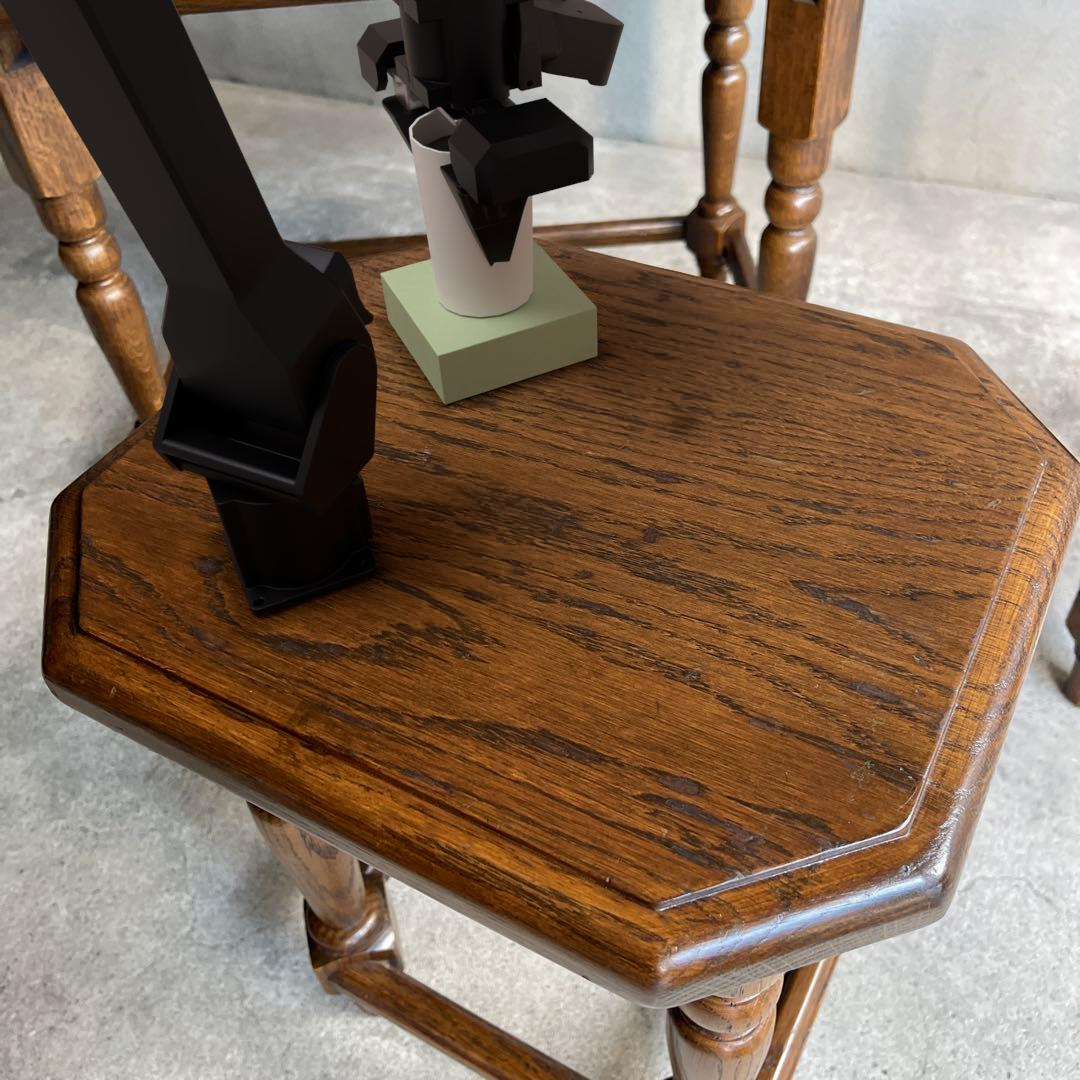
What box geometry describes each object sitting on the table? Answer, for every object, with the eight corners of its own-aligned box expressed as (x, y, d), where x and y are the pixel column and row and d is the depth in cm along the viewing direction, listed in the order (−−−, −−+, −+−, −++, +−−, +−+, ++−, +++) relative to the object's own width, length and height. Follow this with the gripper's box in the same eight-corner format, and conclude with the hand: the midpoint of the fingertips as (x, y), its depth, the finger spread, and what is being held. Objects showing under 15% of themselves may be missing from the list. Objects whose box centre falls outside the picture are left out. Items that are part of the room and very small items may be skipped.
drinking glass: (535, 321, 63) (526, 153, 56) (421, 321, 64) (398, 154, 57) (544, 262, 68) (536, 101, 61) (438, 262, 69) (418, 102, 62)
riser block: (444, 405, 64) (437, 355, 62) (388, 320, 71) (379, 272, 68) (598, 356, 67) (597, 306, 64) (529, 279, 73) (526, 231, 71)
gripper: (696, -24, 49) (682, 282, 60) (524, -120, 61) (538, 149, 72) (465, 27, 46) (495, 340, 57) (333, -84, 58) (378, 190, 69)
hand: (480, 244), depth 64 cm, fingers closed on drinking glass, 5 cm apart
